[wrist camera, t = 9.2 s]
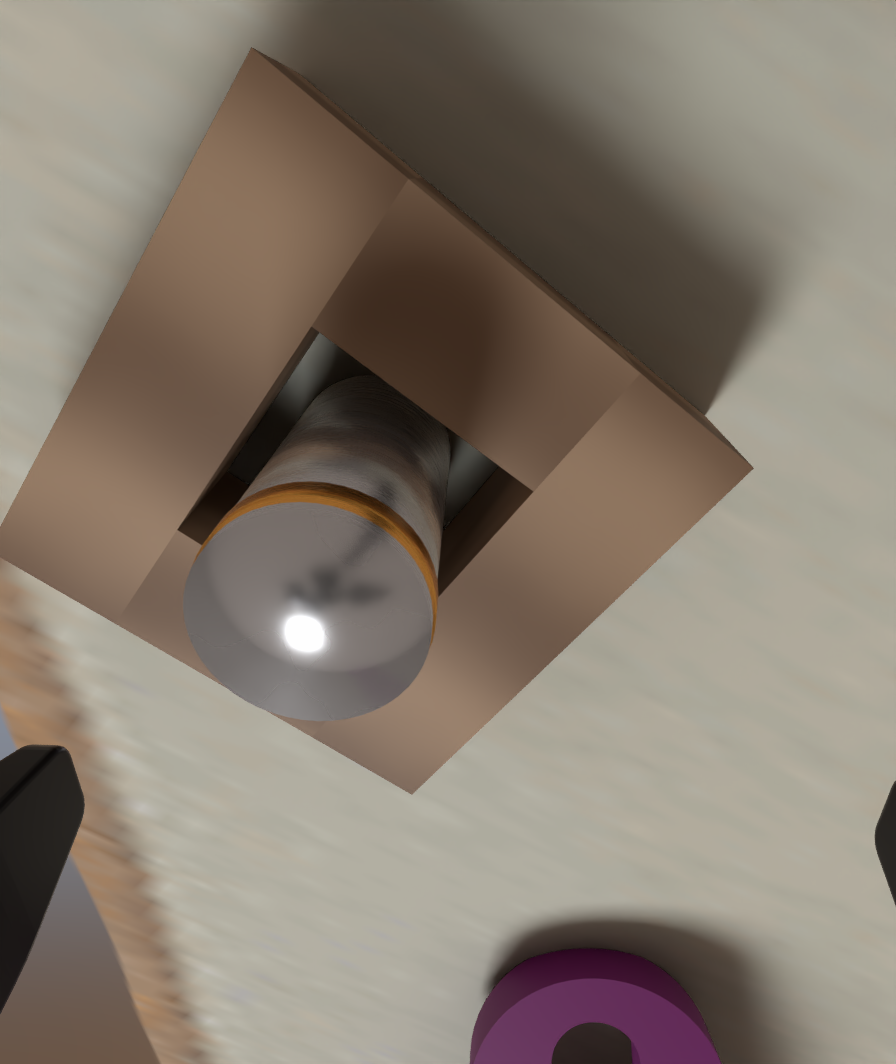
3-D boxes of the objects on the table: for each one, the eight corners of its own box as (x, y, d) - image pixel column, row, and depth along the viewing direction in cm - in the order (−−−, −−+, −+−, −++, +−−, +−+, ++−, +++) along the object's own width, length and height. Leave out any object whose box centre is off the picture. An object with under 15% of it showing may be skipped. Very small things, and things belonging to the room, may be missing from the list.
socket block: (299, 74, 15) (251, 47, 12) (705, 416, 18) (753, 468, 15) (66, 489, 19) (-12, 550, 16) (421, 707, 22) (411, 794, 19)
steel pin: (352, 339, 17) (263, 455, 10) (484, 439, 18) (486, 608, 11) (266, 463, 19) (136, 640, 12) (392, 548, 20) (342, 759, 13)
